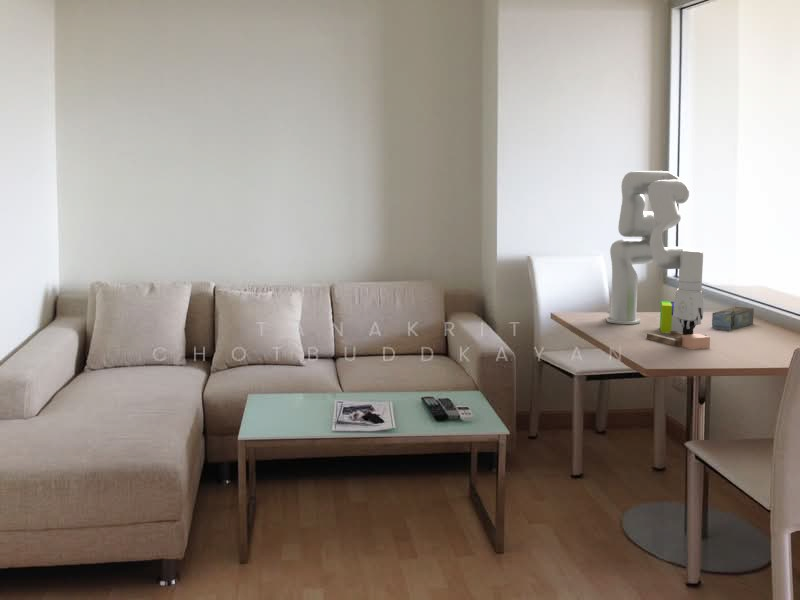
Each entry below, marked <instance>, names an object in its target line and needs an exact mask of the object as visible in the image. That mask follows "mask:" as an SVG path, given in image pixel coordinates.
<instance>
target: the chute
mask: <svg viewBox="0 0 800 600" xmlns="http://www.w3.org/2000/svg"><path fill="white" fill-rule="evenodd" d="M700 334H701V335H705V336H707V334H704V333H700ZM681 335H683V333H682V332H678V331H670V333H669V337H668V336H664V335H660V334H655V333H652V332H647V333H646V339H647V340H651V341H654V342H659V343H663V344H668V345H669V346H670V345H672V346H675V347H678V348H679V347H683V346H682V337H681ZM672 337H673V338H672Z"/></svg>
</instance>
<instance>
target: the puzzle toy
mask: <svg viewBox="0 0 800 600" xmlns="http://www.w3.org/2000/svg"><path fill="white" fill-rule="evenodd" d="M673 308H674V301H660V315H659V317H660V318H659V319H660V320H659V322H660V323H659V329H660V332H661V334H670V331H678V332H682V333H683V328H682V327H681V323H680V322H679V321H677V320H676V318H675V317H674V316H673Z"/></svg>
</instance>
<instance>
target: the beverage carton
mask: <svg viewBox="0 0 800 600" xmlns="http://www.w3.org/2000/svg"><path fill="white" fill-rule="evenodd" d="M711 315H712V316H711V328H712V329H717V330H718V329H719V330H726V331H732V330H736V329H737V330H738V329H740V328H744V327H746V326H750V325H753V324H754V308H753V307H744V306H743V307H742V306H733V307H730V308H726V309H722V310H720V311H714V312H712V314H711Z"/></svg>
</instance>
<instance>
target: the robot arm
mask: <svg viewBox="0 0 800 600" xmlns="http://www.w3.org/2000/svg"><path fill="white" fill-rule="evenodd" d="M621 194H622V195H621V196H622V197H621V198H622V199H621V206H620V213H619V220H618V233H619V235H620V236H622V237H626V239H619V240H616V241H614V242H613V243H612V244H611V246H610V247H609V248H610V249H609V254H610V261H611V271H612V272H611V298H610V299H611V300H610V308H609V309H606V311H605V313H606V314H608V315H609V316H607V318H606V322H607V323H611V324H615V325H616V324H617V325H636V324H640V323H641V318H639V317H637V305H638V304H637V303H638V282H639V281H638V280H639V279H638V274H637V272H636V269H635V268H634V265H644V264H645V265H647V264H651V263H653V262H654V264H655V266H656V267H657V268H658V269H660V270H678V281H677V284H678V288H677V289H676V291H675V296H674V300H673V302H674V308H673V316H674V317H675V318H676V320H677V321H679V322H680V323H681V327H682V328H683V335H689V334H694V329H695V328H696V326H699V325H701V324H702V320H703V318H704V295H703V294H704V293H703V291H702V290H703V289H702V287H703V286H702V285H703V264H704V263H703V262H704V253H703V251H702V250H700V249H694V248H692V247H688V246H668V247H667V246H666V247H665V244H664V242H663V233H664V232H665V231H667V230H670V229H671V228H673V227H675V226H676V225H678V224H679V223H680V222H681V214H680V211H679V207H678V205H679V204H680V205H681V204H684V203H686V202H687V201H688V199H689V197H690V190H689V187H688V185H687V183H686V182H685V181H684V180H683V179H681V177H679V176H676V175H675V174H673V173H671V172H670V171H666V170H664V171H663V170H639V171H638V170H637V171H636V170H635V171H630V172H627V173H626V174H625V175H624V176H623V178H622V181H621ZM645 195H648V200H649V202H650V206H651V207H650V208H651V210H652V211H645V210H646V209H645V208H646V199H645V197H644V196H645ZM627 238H628V239H627ZM630 238H631V239H630ZM635 238H636V239H635Z"/></svg>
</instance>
